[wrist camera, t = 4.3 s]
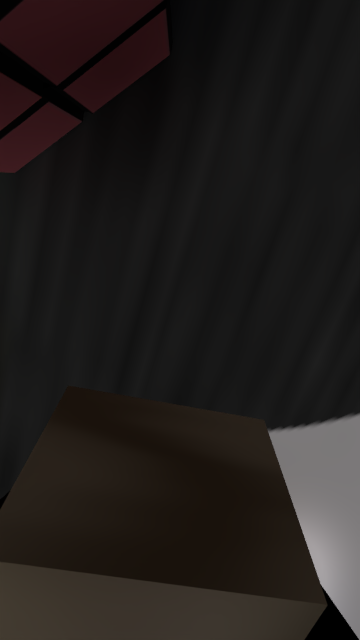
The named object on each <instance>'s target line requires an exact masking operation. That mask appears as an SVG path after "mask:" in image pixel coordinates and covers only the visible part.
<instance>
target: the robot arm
mask: <svg viewBox="0 0 360 640" xmlns="http://www.w3.org/2000/svg"><path fill="white" fill-rule="evenodd" d="M10 491H11V490H10ZM10 491H9V492H8V493H7V494H6V495H5V496H4V497H3V498H1V499H0V509H1V507H2V505H3V504H4V502H5V500H6V498H7V496H8V494H9V493H10ZM321 587H322V586H321ZM322 590H323V593H324V596H325V599H326V602H327V607H326V608H325V610H324V611H323V613H322V614H321V616H320V617H319V619H318V620H317V622H316V623H315V625H314V626H313V628H312V629H311V631H310V632H309V634H308V635H307V637H306V638H305V640H359V639H358V638H357V636H356V635H355V633H354V632H353V630H352V629H351V627H350V626H349V624H348V623H347V622H346V620H345V619H344V617H343V616H342V615H341V613H340V612H339V610H338V609H337V607H336V606H335V604H334V603H333V602H332V600H331V599H330V597H329V596H328V594H327V593H326V591H325V590H324V589H323V587H322Z"/></svg>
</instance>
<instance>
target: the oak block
mask: <svg viewBox="0 0 360 640" xmlns="http://www.w3.org/2000/svg"><path fill="white" fill-rule="evenodd" d="M326 607H327V602H326V599H325V596H324V593H323V590H322V587H321V584H320V581H319V579H318V576H317V573H316V570H315V567H314V564H313V561H312V558H311V556H310V553H309V550H308V547H307V544H306V541H305V538H304V535H303V533H302V529H301V526H300V523H299V520H298V518H297V515H296V512H295V509H294V506H293V503H292V500H291V498H290V495H289V492H288V489H287V486H286V483H285V480H284V477H283V474H282V471H281V468H280V465H279V462H278V460H277V457H276V454H275V451H274V448H273V445H272V442H271V439H270V436H269V433H268V430H267V428H266V425H265V422H264V420H261V419H255V418H250V417H244V416H238V415H233V414H227V413H221V412H215V411H210V410H204V409H198V408H193V407H187V406H181V405H175V404H170V403H164V402H158V401H153V400H147V399H141V398H135V397H130V396H124V395H118V394H113V393H107V392H101V391H96V390H90V389H84V388H78V387H73V386H68V387H67V389H66V391H65V393H64V394H63V396H62V398H61V400H60V402H59V404H58V405H57V407H56V409H55V411H54V413H53V414H52V416H51V418H50V420H49V422H48V424H47V425H46V427H45V429H44V431H43V433H42V434H41V436H40V438H39V440H38V442H37V444H36V445H35V447H34V449H33V451H32V453H31V454H30V456H29V458H28V460H27V462H26V464H25V465H24V467H23V469H22V471H21V473H20V474H19V476H18V478H17V480H16V482H15V484H14V485H13V487H12V489H11V491H10V493H9V494H8V496H7V498H6V500H5V502H4V504H3V505H2V507H1V509H0V640H305V638H306V637H307V635H308V634H309V632H310V631H311V629H312V628H313V626H314V625H315V623H316V622H317V620H318V619H319V617H320V616H321V614H322V613H323V611H324V610H325V608H326Z"/></svg>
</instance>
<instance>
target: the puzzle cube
mask: <svg viewBox="0 0 360 640" xmlns="http://www.w3.org/2000/svg"><path fill="white" fill-rule="evenodd" d="M172 43H173V42H172V26H171V10H170V0H0V172H8V173H15V172H16V171H18V170H19V169H20V168H22V167H23V166H24V165H26V164H27V163H28V162H30V161H31V160H32V159H34V158H35V157H36V156H37V155H39V154H40V153H41V152H43V151H44V150H45V149H47V148H48V147H49V146H51V145H52V144H53V143H55V142H56V141H57V140H59V139H60V138H61V137H62V136H64V135H65V134H66V133H68V132H69V131H70V130H72V129H73V128H74V127H76V126H77V125H78V124H80V123H81V122H82V121H83V112H84V111H87V112H90V113H94V112H95V111H97V110H98V109H99V108H101V107H102V106H103V105H105V104H106V103H107V102H108V101H110V100H111V99H112V98H114V97H115V96H116V95H118V94H119V93H120V92H122V91H123V90H124V89H126V88H127V87H128V86H130V85H131V84H132V83H133V82H135V81H136V80H137V79H139V78H140V77H141V76H143V75H144V74H145V73H147V72H148V71H149V70H151V69H152V68H153V67H154V66H156V65H157V64H158V63H160V62H161V61H162V60H164V59H165V58H166V57H168V56H169V55H170V53H171V48H172Z"/></svg>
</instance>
